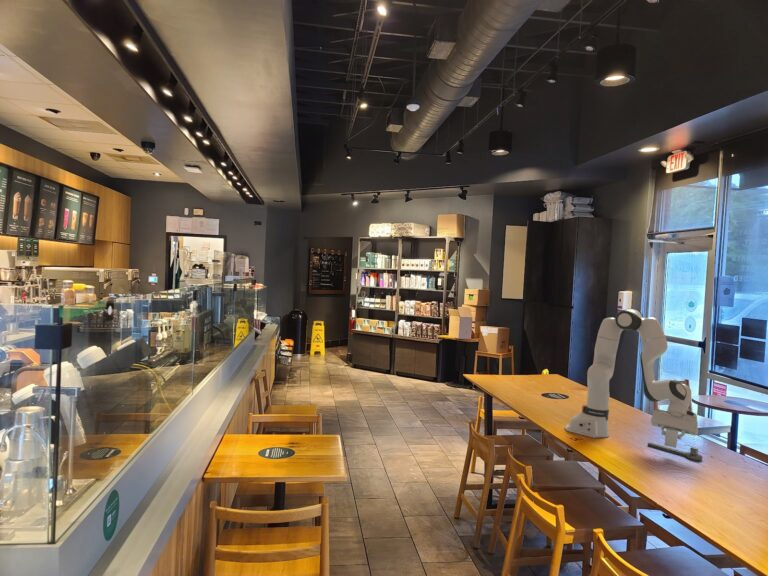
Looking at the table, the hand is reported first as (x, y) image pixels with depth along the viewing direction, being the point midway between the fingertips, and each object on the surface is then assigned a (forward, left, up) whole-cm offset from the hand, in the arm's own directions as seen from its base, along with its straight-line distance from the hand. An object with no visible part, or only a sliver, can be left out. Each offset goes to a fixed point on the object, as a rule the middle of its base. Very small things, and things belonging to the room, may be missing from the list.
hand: (671, 436), depth 254 cm
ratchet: (+2, +10, -10) cm, 14 cm away
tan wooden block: (0, +1, -4) cm, 4 cm away
